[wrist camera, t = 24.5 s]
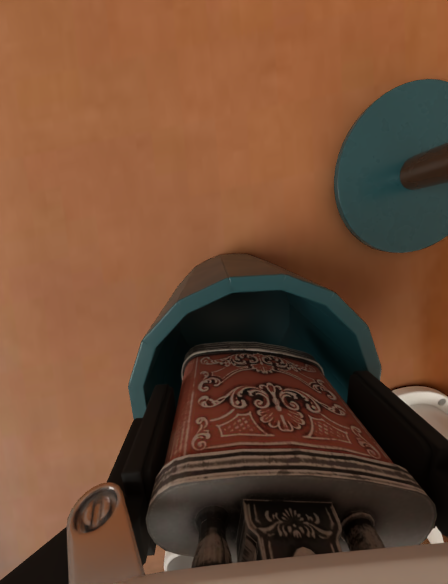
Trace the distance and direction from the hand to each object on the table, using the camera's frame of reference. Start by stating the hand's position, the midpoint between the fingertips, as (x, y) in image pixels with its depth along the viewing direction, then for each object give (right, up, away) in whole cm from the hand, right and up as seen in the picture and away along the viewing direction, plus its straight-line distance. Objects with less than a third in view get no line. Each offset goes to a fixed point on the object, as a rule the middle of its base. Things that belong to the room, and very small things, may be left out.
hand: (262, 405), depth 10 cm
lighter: (0, +1, +3) cm, 3 cm away
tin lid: (+14, +15, +9) cm, 22 cm away
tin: (-1, +3, +11) cm, 12 cm away
